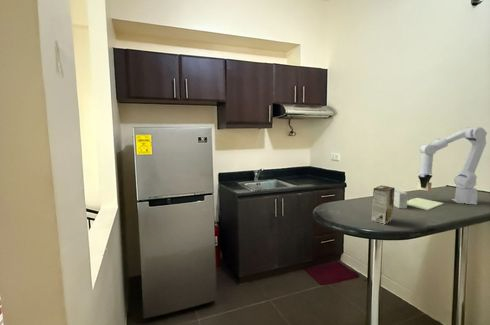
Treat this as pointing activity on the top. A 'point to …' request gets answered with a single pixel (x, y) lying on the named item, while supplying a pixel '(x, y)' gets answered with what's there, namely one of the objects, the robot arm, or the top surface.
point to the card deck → (428, 186)
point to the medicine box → (400, 199)
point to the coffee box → (383, 204)
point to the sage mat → (423, 203)
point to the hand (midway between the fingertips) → (424, 187)
